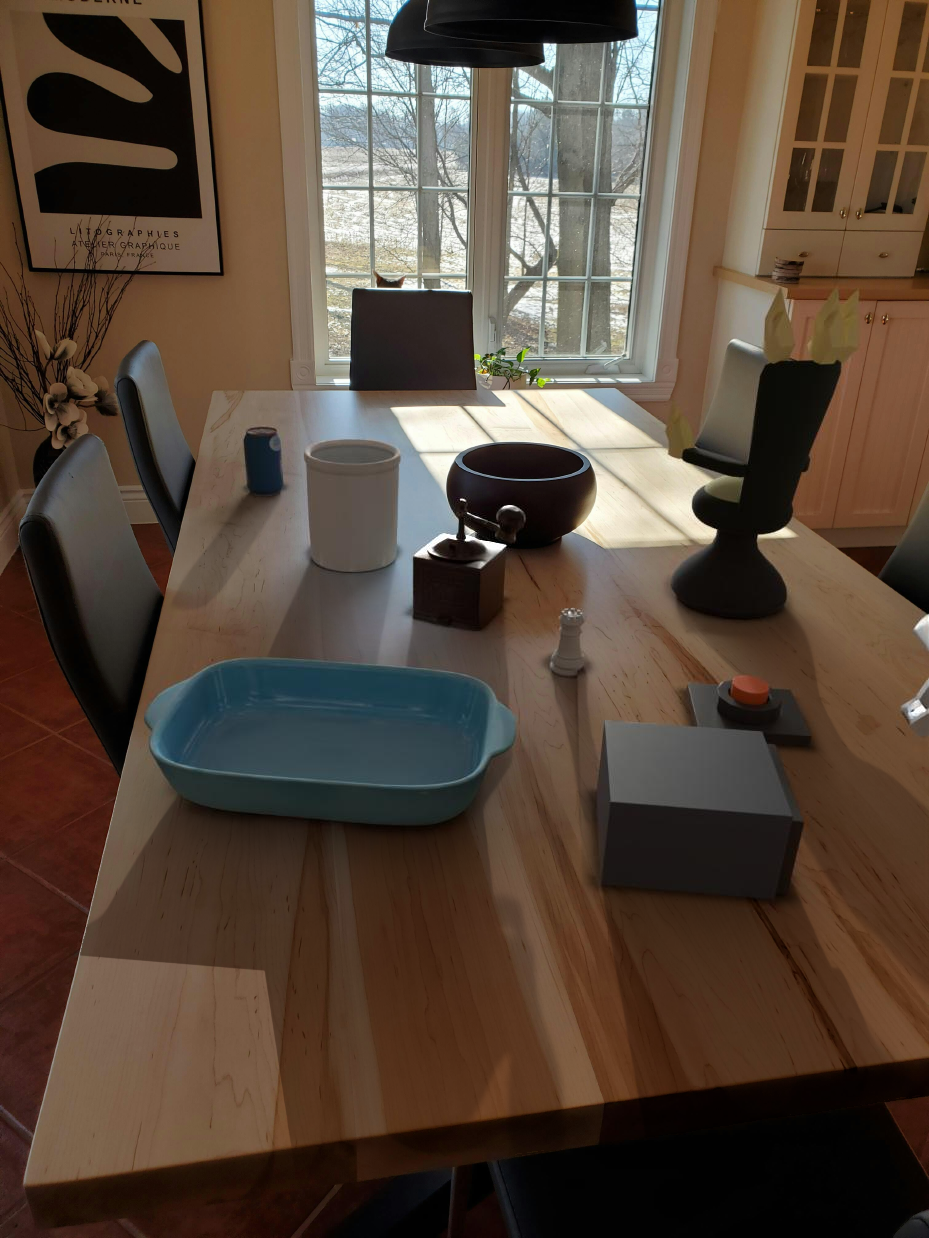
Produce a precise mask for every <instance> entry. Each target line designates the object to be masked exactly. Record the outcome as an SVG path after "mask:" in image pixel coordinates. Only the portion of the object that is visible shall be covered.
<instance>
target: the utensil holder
mask: <svg viewBox="0 0 929 1238" xmlns="http://www.w3.org/2000/svg"><path fill="white" fill-rule="evenodd" d="M303 459H304V462H305V467H306V490H307V491H306V494H307V511H308V512H307V513H308V531H309V543H310V555H311V559H312V561H313V562H314V563H315V564H317V565H318V566H319V567H321V568H324V569H327V570H331V571H335V572H342V573H362V572H370V571H371V572H372V571H375V570H380V569H382V568H385V567H387V566H389V565H391V564H392V563H393V562H394V561H395V560H396V559H397V552H398V551H397V549H398V548H397V547H398V530H399V529H398V526H399V491H400V489H399V488H400V463H401V462H402V461H401V459H402V454H401V451H400V449H399V448H398V447H396V446H395V445H393V444H390V443H387V442H384V441H380V440H374V439H365V438H338V439H328V440H323V441H319V442H315V443H312V444H309V445H308V446H306V447H305V449H304V450H303Z"/></svg>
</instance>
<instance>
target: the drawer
mask: <svg viewBox="0 0 929 1238" xmlns="http://www.w3.org/2000/svg"><path fill="white" fill-rule="evenodd" d="M767 746H768V749H769V752H770V754H771V757H772V760H773V763H774V765H775V768H776V771H777V774H778V776H779V779H780V782H781V785H782V788H783V790H784V793H785V796H786V799H787V801H788V804H789V807H790V810H791V812H792V815H793V819H792V824H791V828H790V833H789V837H788V841H787V846H786V850H785V854H784V859H783V863H782V868H781V872H780V876H779V881H778V885H777V889H776V894H775V895H781V896H787V895H788V893H789V890H790V884H791V881H792V876H793V873H794V868H795V864H796V859H797V856H798V852H799V847H800V842H801V839H802V835H803V831H804V827H805V820H804V817H803V815H802V812H801V809H800V807H799V804H798V801H797V799H796V796H795V793H794V791H793V787H792V785H791V783H790V780H789V777H788V775H787V772H786V769H785V767H784V764H783V761H782V759H781V756H780V754H779V751H778V748H777V745H775V744H767Z"/></svg>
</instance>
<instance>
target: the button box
mask: <svg viewBox="0 0 929 1238" xmlns="http://www.w3.org/2000/svg"><path fill="white" fill-rule="evenodd" d="M732 682H733V679H728V680H724V681H722V682H720V684H715V683H701V682H697V683H696V682H686V689H685V695H686V699H687V704H688V708H689V712H690V715H691V720H692V724H693V727H705V728H719V729H733V730H746V731H760V732H763V735H764V738H765V741H766V743H767V744H775V745H776V746H787V747H799V748H810V746H811V742H812V737H813V736H812V734H811V731H810V729H809V727H808V724H807V723H806V721H805V718H804V716H803V713H802V712H801V709H800V707H799V705H798V702H797V701H796V698H795V696H794V694H793V692H792V690H791V689H786V688H773V687H771V686H770V689H769V694H768V699H767V702H766V704H762V705H747V704H744V703H741V702H738V701H736V700H735V699H733V698H732V697H731V696H730V693H731V687H732Z"/></svg>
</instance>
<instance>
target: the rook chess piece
mask: <svg viewBox="0 0 929 1238" xmlns="http://www.w3.org/2000/svg"><path fill="white" fill-rule="evenodd" d="M575 610H576V608H574V607H571V608H570V610H569V608H567V607H566V608H564V609H563V610H562V611H561V614H560V615H559V616H558V619H557V620H558V621H559V623H560V625H561V627H559V629H558V630H559V632H560V636H559V641H558V644H557V648H556V649H555V650H554V653H552V655H551V657H550V661H551V662H550V663H549V667H550V669H551V670H552V672H553V673H554V674H555V675H557V676H560V677H563V678H576V677H578V671H580V670H582V668H583V667H584V665H586V657H585V656H584V655H583V651H582V648H581V634H582V633H583V630H582V628H581V627H582V625H583V624H584V623H585V622H586V619H585V617H584V616H583V612H582V610H581V609H577V610H576V611H575Z"/></svg>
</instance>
